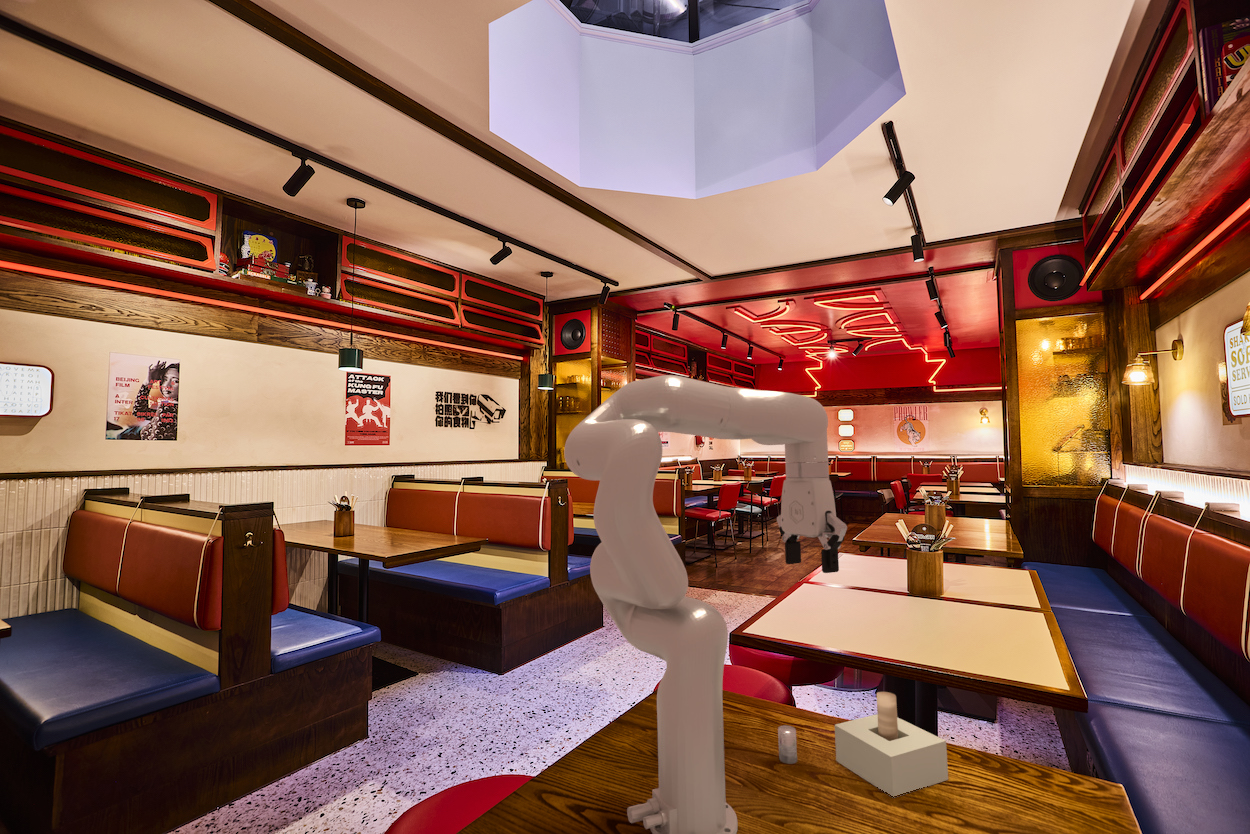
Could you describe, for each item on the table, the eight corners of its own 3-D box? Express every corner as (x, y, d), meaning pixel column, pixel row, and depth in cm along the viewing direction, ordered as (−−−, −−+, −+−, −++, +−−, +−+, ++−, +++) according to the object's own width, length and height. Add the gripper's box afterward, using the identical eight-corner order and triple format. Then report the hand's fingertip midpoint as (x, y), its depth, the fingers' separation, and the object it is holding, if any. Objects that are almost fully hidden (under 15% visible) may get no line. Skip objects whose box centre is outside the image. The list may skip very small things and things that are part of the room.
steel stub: (786, 765, 98) (785, 734, 98) (775, 757, 100) (774, 727, 101) (800, 761, 99) (799, 731, 99) (789, 753, 102) (788, 724, 102)
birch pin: (890, 776, 94) (886, 700, 95) (876, 767, 96) (872, 693, 97) (904, 772, 95) (900, 696, 96) (889, 763, 98) (885, 690, 99)
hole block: (893, 797, 88) (891, 756, 88) (836, 760, 99) (834, 724, 99) (948, 779, 92) (946, 740, 93) (888, 746, 103) (886, 711, 104)
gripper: (761, 472, 112) (764, 562, 110) (824, 473, 96) (829, 578, 94) (792, 471, 114) (796, 559, 113) (858, 472, 99) (863, 573, 97)
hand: (811, 567), depth 104 cm, fingers open, 9 cm apart
